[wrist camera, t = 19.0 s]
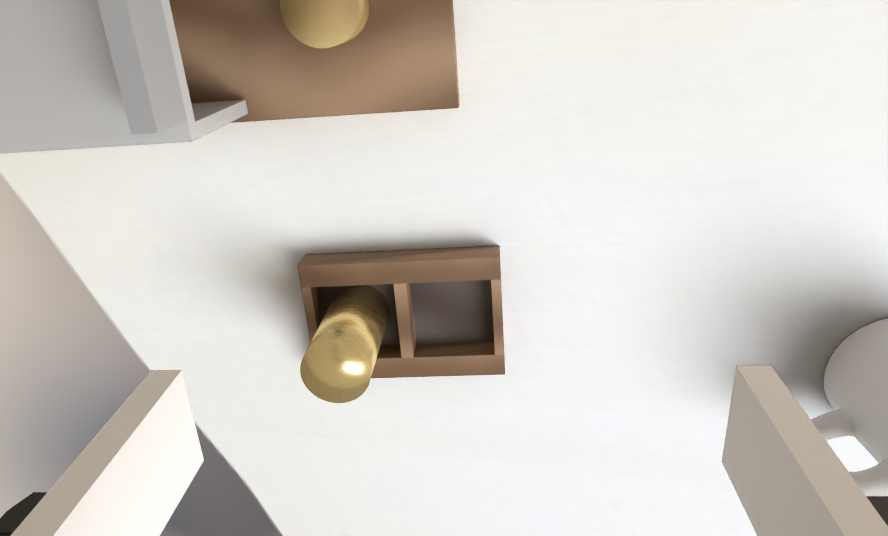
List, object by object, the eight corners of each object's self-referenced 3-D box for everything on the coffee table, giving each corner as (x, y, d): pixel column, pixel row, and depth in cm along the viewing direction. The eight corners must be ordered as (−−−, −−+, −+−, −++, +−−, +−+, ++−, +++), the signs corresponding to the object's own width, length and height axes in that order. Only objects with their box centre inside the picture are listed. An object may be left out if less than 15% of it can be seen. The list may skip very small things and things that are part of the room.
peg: (327, 284, 44) (295, 343, 37) (386, 282, 44) (365, 341, 37) (335, 337, 46) (306, 403, 38) (392, 335, 45) (373, 401, 38)
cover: (30, -81, 36) (-152, -110, 26) (208, -99, 35) (93, -136, 25) (87, 124, 40) (-50, 168, 30) (247, 113, 39) (163, 156, 29)
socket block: (305, 254, 44) (297, 266, 42) (499, 245, 43) (499, 257, 41) (323, 364, 47) (316, 379, 45) (504, 358, 46) (504, 374, 44)
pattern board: (84, -93, 37) (30, -104, 32) (444, -127, 35) (437, -144, 30) (139, 125, 41) (97, 141, 37) (459, 104, 39) (455, 118, 35)
